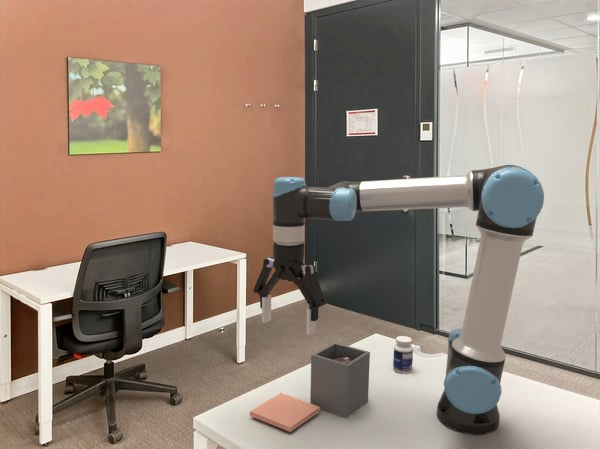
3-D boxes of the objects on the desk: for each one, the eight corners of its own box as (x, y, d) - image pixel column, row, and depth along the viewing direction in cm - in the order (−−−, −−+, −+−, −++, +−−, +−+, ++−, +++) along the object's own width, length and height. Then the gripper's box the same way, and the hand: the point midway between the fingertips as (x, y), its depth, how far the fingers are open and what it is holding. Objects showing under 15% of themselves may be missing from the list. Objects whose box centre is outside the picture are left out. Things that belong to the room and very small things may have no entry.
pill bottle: (389, 367, 172) (391, 336, 171) (406, 365, 174) (408, 334, 172) (398, 374, 167) (399, 343, 165) (415, 372, 169) (417, 341, 167)
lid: (319, 414, 143) (320, 406, 143) (290, 436, 133) (290, 427, 133) (280, 400, 151) (280, 392, 150) (249, 419, 141) (249, 411, 140)
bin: (368, 401, 150) (369, 352, 148) (346, 418, 141) (348, 365, 139) (332, 390, 157) (334, 342, 154) (310, 405, 148) (311, 354, 145)
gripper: (341, 246, 130) (339, 333, 134) (258, 233, 144) (258, 313, 148) (323, 251, 124) (322, 343, 128) (239, 238, 138) (239, 320, 142)
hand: (288, 327), depth 138 cm, fingers open, 13 cm apart
